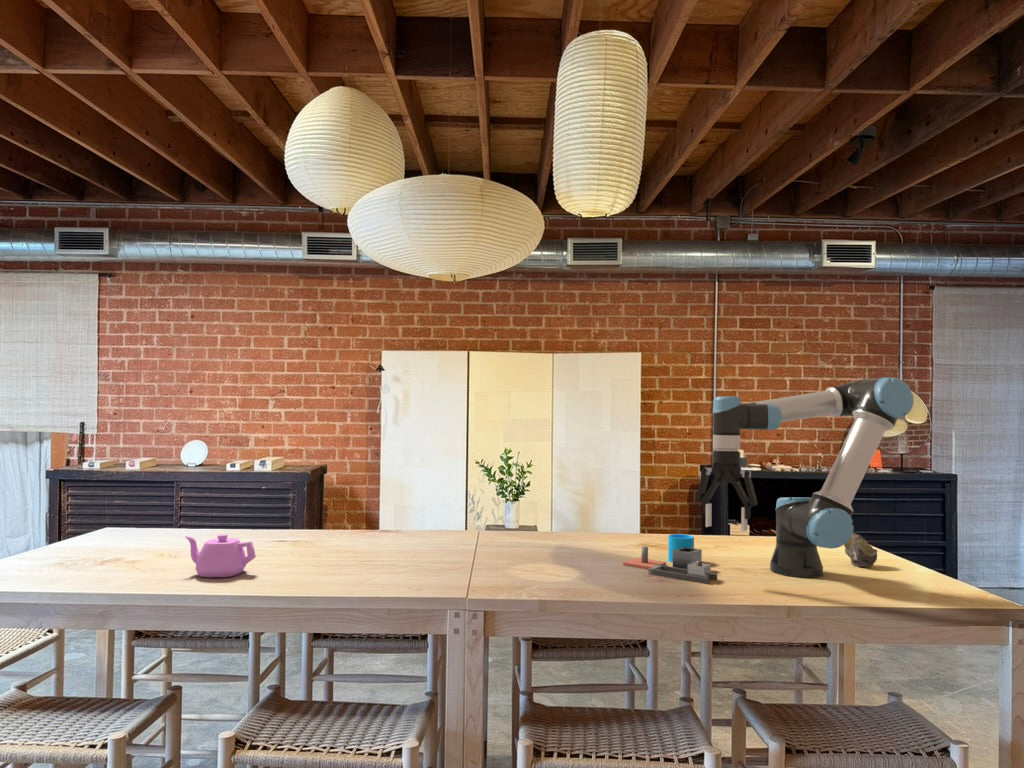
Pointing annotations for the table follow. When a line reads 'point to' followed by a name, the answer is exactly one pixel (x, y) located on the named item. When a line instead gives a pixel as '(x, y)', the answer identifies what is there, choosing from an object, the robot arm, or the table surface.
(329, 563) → the table surface
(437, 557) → the table surface
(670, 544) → the mug
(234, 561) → the teapot
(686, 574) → the track
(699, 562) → the grey knobbed block
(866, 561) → the rock
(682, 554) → the grey hollow block
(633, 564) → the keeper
